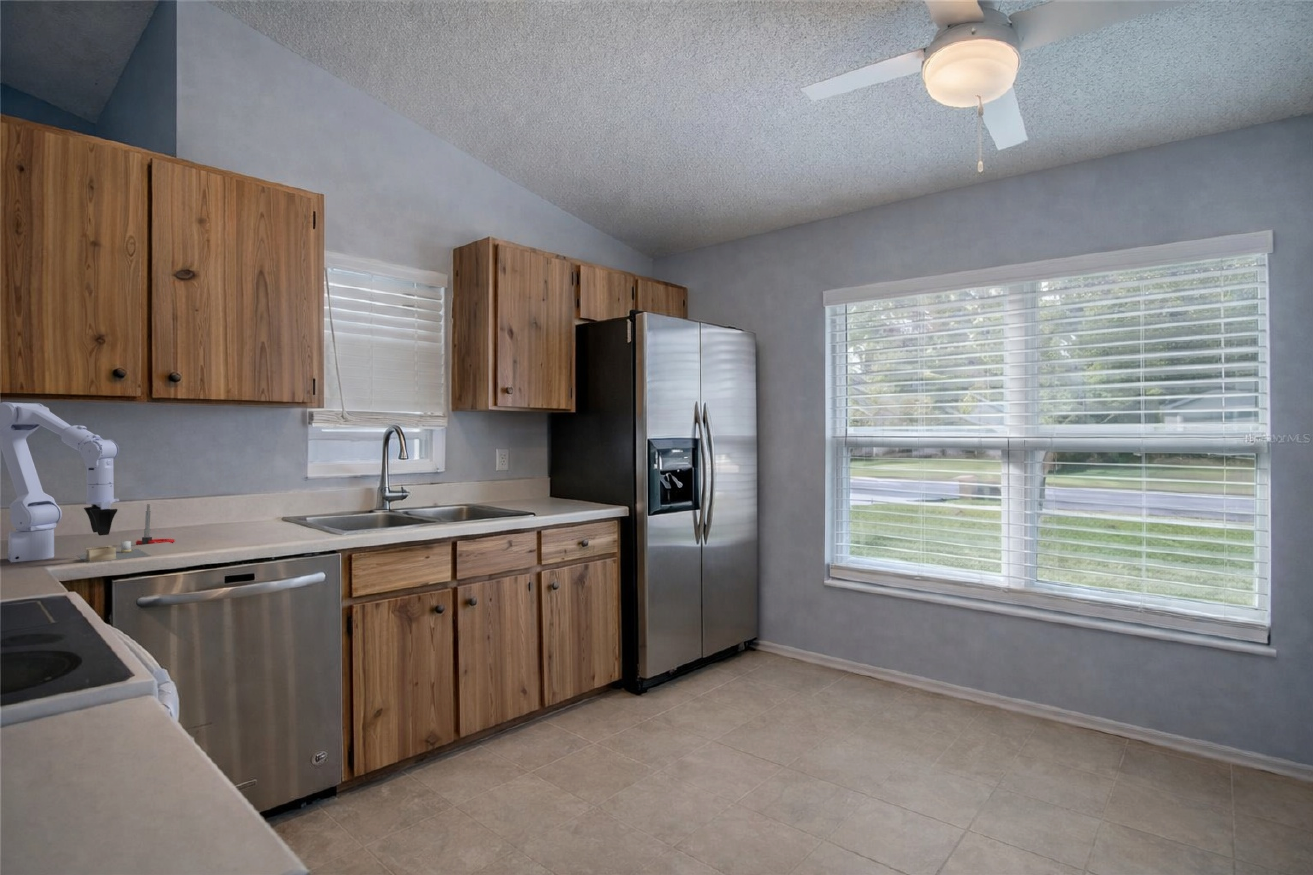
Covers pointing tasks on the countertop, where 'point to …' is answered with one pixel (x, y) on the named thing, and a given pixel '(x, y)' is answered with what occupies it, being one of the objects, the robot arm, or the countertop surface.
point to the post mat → (122, 553)
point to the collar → (100, 553)
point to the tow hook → (147, 538)
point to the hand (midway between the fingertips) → (100, 533)
